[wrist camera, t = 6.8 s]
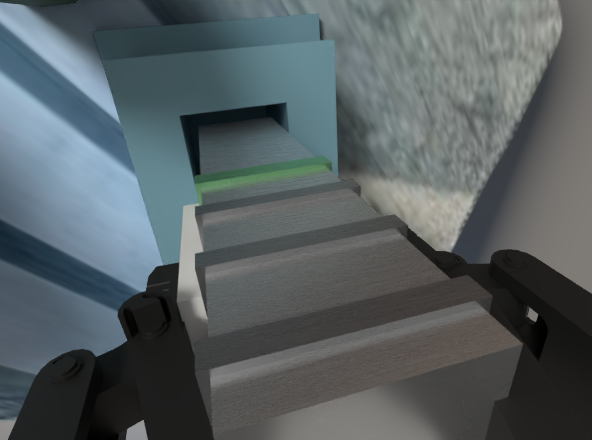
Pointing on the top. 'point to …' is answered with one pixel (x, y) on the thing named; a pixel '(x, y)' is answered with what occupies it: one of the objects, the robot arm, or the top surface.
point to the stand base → (213, 98)
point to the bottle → (39, 2)
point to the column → (330, 307)
